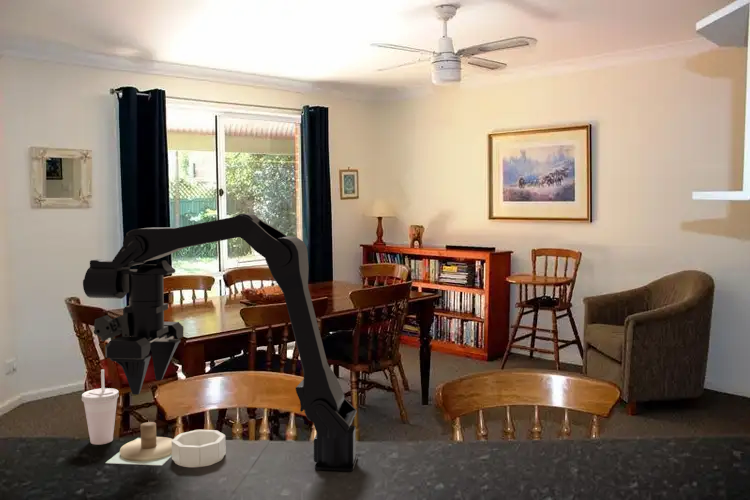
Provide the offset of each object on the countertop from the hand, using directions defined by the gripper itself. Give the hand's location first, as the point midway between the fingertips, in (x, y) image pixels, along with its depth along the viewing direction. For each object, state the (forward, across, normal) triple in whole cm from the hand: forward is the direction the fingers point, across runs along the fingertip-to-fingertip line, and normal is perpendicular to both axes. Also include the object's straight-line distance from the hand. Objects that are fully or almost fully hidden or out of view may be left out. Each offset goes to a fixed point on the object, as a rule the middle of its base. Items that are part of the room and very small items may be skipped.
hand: (147, 386), depth 116 cm
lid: (+12, 0, 0) cm, 12 cm away
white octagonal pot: (+12, +2, +10) cm, 16 cm away
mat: (+12, 0, 0) cm, 12 cm away
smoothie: (+12, -4, -11) cm, 17 cm away
